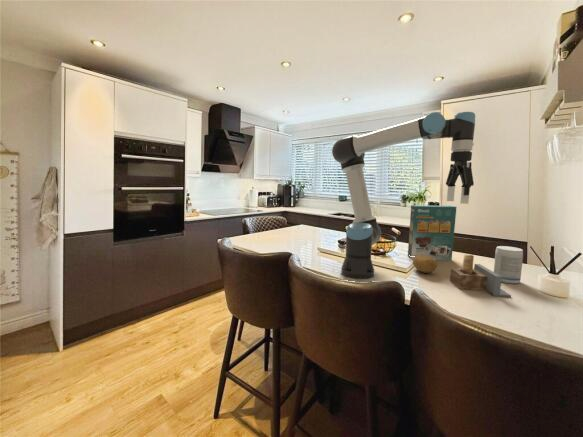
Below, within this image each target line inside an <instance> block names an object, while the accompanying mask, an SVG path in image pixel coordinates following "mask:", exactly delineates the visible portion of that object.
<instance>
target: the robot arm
mask: <svg viewBox="0 0 583 437" xmlns="http://www.w3.org/2000/svg"><path fill="white" fill-rule="evenodd" d="M475 126H476V114H475V113H474V112H473V111H462V112H458V113H456V114H454V117H453V118H451V119H446V118H445V116H444V115H443V114H442V113H440V112H437V111H433V112H430V113H428V114H427V115H426V116H423V117H421V118H417V119H414V120H410V121H407V122H404V123H399V124H397V125H396V124H395V125H393V126H389V127H387V128H383V129H379V130H376V131H372V132H369V133H367V134H362V135H359V136H358V135H356V134H354V135H350V136H346V137H344V138H340V139H338V140H337V141H336V142H335V143H334V144H333V145H332V149H331V153H332V157H333V158H334V160H335V161H336V162H338V163H340V167H341V171H342V172H343V173H345V177H346V181H347V187H348V190H349V197H350V200H351V205H352V210H353V215H354V219H353V221H352V223H350V224H348V225H347V227H346V232H345V235H346V236H345V258H344V260H343V262H342V265H341V274H342V275H344V276H346V277H347V278H353V279H370V278H373V277H374V276H375V268H374V264H373V260H372V248H373V246H374V245H375V244H377V243H378V242H379V240H380V239H381V236H382V231H381V226H380V225H379V224H378V222H377V217H375V215H373V214H372V213H373V212H372V209H371V208H372V207H371V205H370V204H371V203H370V199H369V195H368V190H367V185H366V184H367V183H366V179H365V175H364V170H363V169H364V167H365V165H366V164H365V160H364V159H365V154H366V153H368V152H372V151H376V150H379V149H384V148H387V147H390V146H395V145H399V144H402V143H406V142H410V141H414V140H417V139H421V138H422V140H437V139H451V138H452V139H451V140H452V141H451V148H450V150H451V153H450V161H451V162H454V163H451V164H450V166H449V171H448V175H447V179H446V182H445V185H446V186H447V194H446V202H455V191H456V190H455V189H456V183H457V180H458V179H459V176H460V181H461V184H462V185H461V186H460V187H461V192H460V202H459V203H460V204H463V205H464V204H467V205H469V203H470V202H469V200H470V189H471V187H473V186H475V185H474V177H473V170H472V162H471V161H472V157H473V152H472V150H473V148H474V147H473V146H474V136H475V129H476V127H475Z"/></svg>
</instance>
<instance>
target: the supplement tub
mask: <svg viewBox="0 0 583 437" xmlns="http://www.w3.org/2000/svg"><path fill="white" fill-rule="evenodd" d="M523 260H524V250H523V249H522V248H519V247H514V246H506V245H499V246H496V248H495V254H494V265H493V272H494V273H496V274H498V275H500V276H502V279H501V283H506V284H519V283H520V282H521V276H522V270H523V269H522V267H523V262H524V261H523Z"/></svg>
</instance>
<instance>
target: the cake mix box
mask: <svg viewBox="0 0 583 437" xmlns="http://www.w3.org/2000/svg"><path fill="white" fill-rule="evenodd" d="M409 216H410V217H409V218H410V220H409V230H408V232H409V234H408V246H407V257H408V258H410V259H411V260H413V258H414V257H410V256H416V255H426V256H429V257H432V258H433V259H434V260H435V261H437V260H438V261H452V259H453V249H454V240H455V228H456V218H457V217H456V216H457V206H453V205H427V204H426V205H425V204H424V205H423V204H422V205H421V204H420V205H419V204H418V205H417V204H416V205H415V204H414V205H413V204H411V206H410V215H409ZM409 255H410V256H409Z"/></svg>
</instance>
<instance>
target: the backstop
mask: <svg viewBox="0 0 583 437" xmlns="http://www.w3.org/2000/svg"><path fill="white" fill-rule="evenodd" d="M473 267H474V268H473V269H476V270H478V271H479V272H481V273H483V274H484V275H486V276H487V285H486V291H485V292H487V293H488V294H490V296H492V297H499V298H512V295H511V294H509V293H508V292H506V291H505V290H503V289H502V288H501V286H502V282H501V279H502V276H500V275H498V274H496V273H494V270H493V271H492V270H490V269H489V268H487V267H486V266H484V265H482V264H480V263H474V264H473Z"/></svg>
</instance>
